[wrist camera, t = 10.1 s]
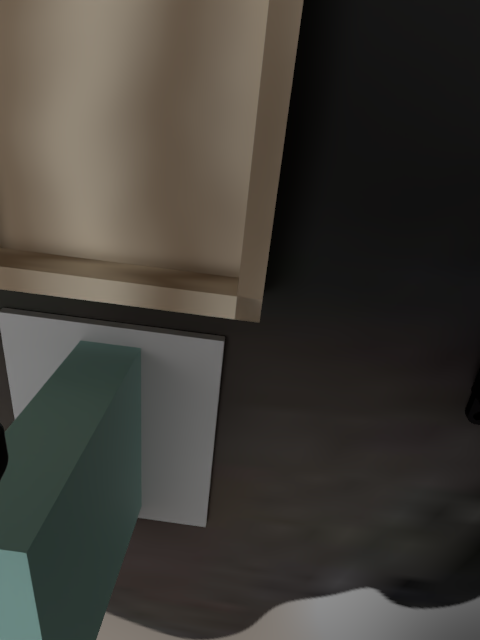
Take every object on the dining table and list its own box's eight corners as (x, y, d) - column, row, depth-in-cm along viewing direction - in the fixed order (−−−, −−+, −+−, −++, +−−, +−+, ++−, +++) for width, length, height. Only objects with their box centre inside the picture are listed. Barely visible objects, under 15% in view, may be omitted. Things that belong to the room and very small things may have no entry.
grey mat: (225, 336, 22) (223, 341, 21) (206, 520, 28) (205, 527, 27) (3, 307, 22) (-3, 311, 22) (31, 495, 28) (27, 501, 27)
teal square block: (141, 348, 22) (26, 552, 12) (141, 506, 27) (60, 742, 17) (80, 340, 22) (-83, 537, 12) (92, 499, 27) (-17, 730, 17)
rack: (328, -198, 13) (340, -272, 11) (262, 293, 21) (259, 322, 18) (-314, -260, 14) (-456, -344, 11) (-160, 239, 21) (-224, 260, 18)
